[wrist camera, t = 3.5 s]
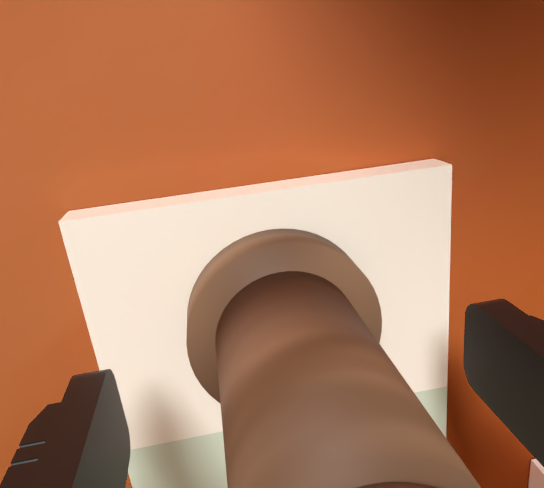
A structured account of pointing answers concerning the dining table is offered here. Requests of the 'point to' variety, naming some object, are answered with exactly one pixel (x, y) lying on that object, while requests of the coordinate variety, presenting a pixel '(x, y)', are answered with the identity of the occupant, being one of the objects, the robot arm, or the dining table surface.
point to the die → (536, 475)
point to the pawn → (308, 372)
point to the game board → (209, 242)
